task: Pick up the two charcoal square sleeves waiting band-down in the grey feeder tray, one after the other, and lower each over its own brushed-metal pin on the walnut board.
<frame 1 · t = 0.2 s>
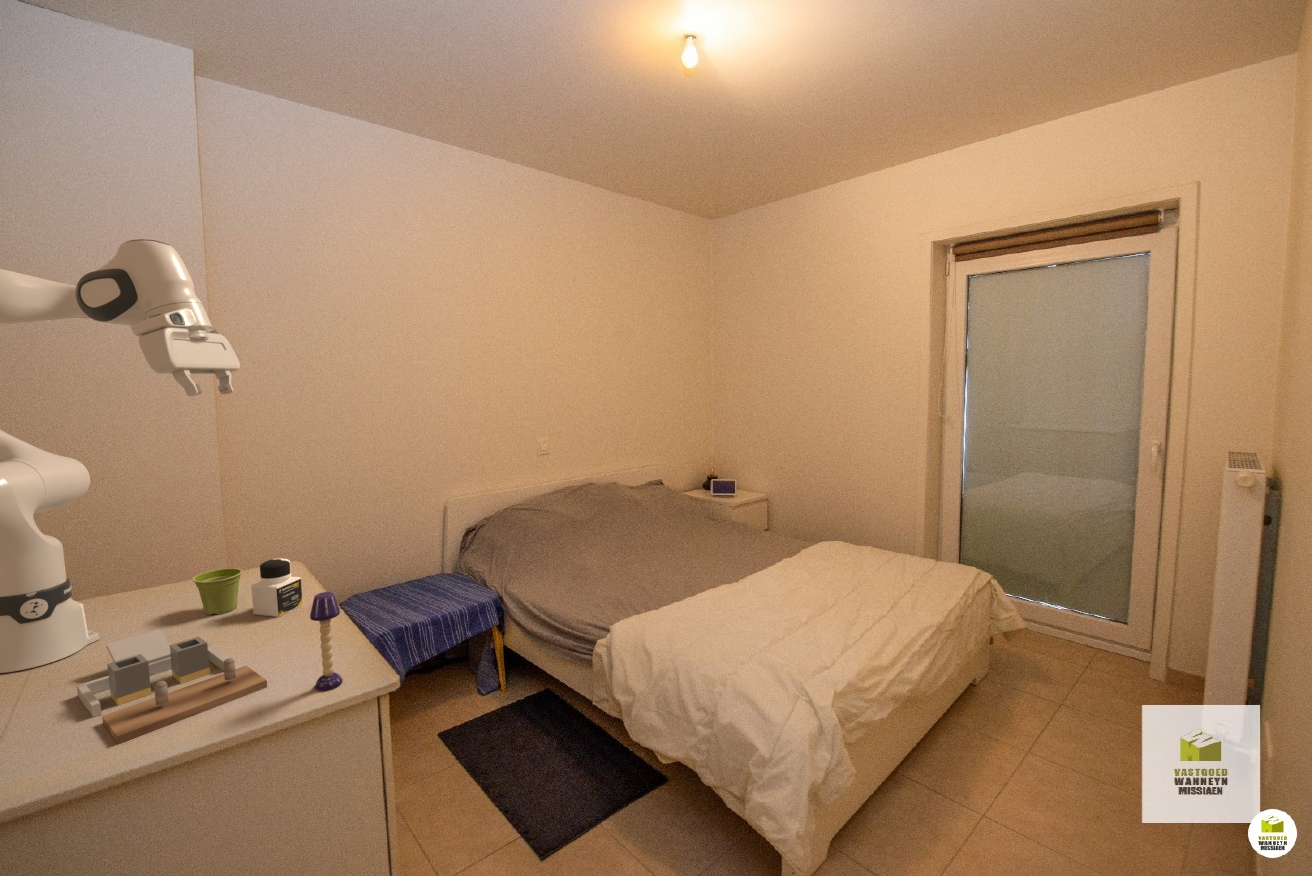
hand: (212, 394, 112), 52 cm above the dresser top, fingers open, 8 cm apart
sleeve 1: (131, 695, 101), on the dresser top
sleeve 2: (191, 674, 108), on the dresser top
feeder tray: (160, 685, 104), on the dresser top
toy lamp: (329, 684, 105), on the dresser top
medicine bottle: (278, 610, 138), on the dresser top
plant pot: (220, 610, 138), on the dresser top
pin board: (189, 703, 99), on the dresser top
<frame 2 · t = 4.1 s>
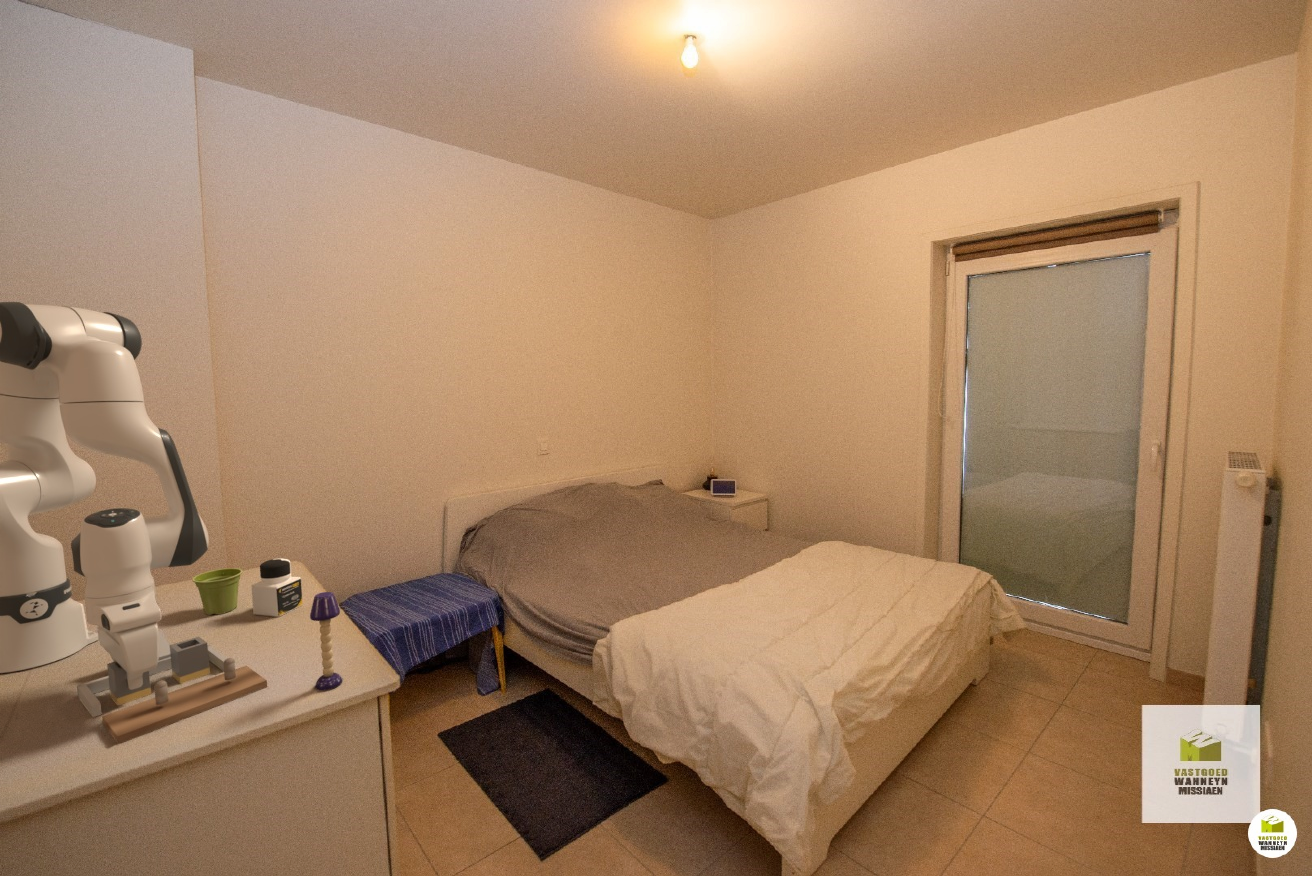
hand: (130, 681, 101), 2 cm above the dresser top, fingers closed on sleeve 1, 4 cm apart
sleeve 1: (131, 695, 101), on the dresser top, touching gripper
everything else where it was.
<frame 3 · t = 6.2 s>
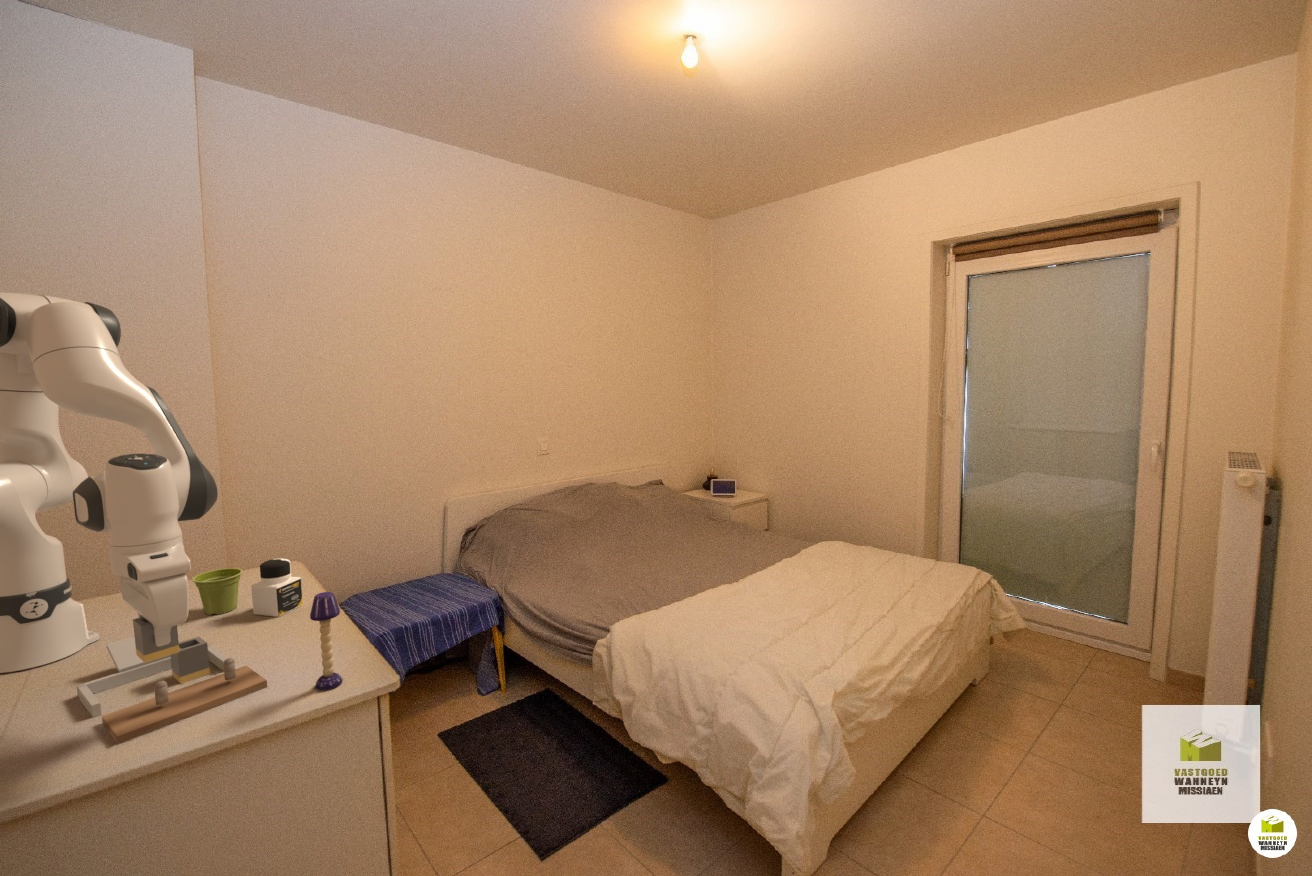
hand: (156, 639, 94), 13 cm above the dresser top, fingers closed on sleeve 1, 4 cm apart
sleeve 1: (158, 653, 95), point 10 cm above the dresser top, touching gripper
everything else where it was.
when the fingers open (4 cm above the dresser top, at t = 8.4 s): sleeve 1 stays where it is, resting on pin board.
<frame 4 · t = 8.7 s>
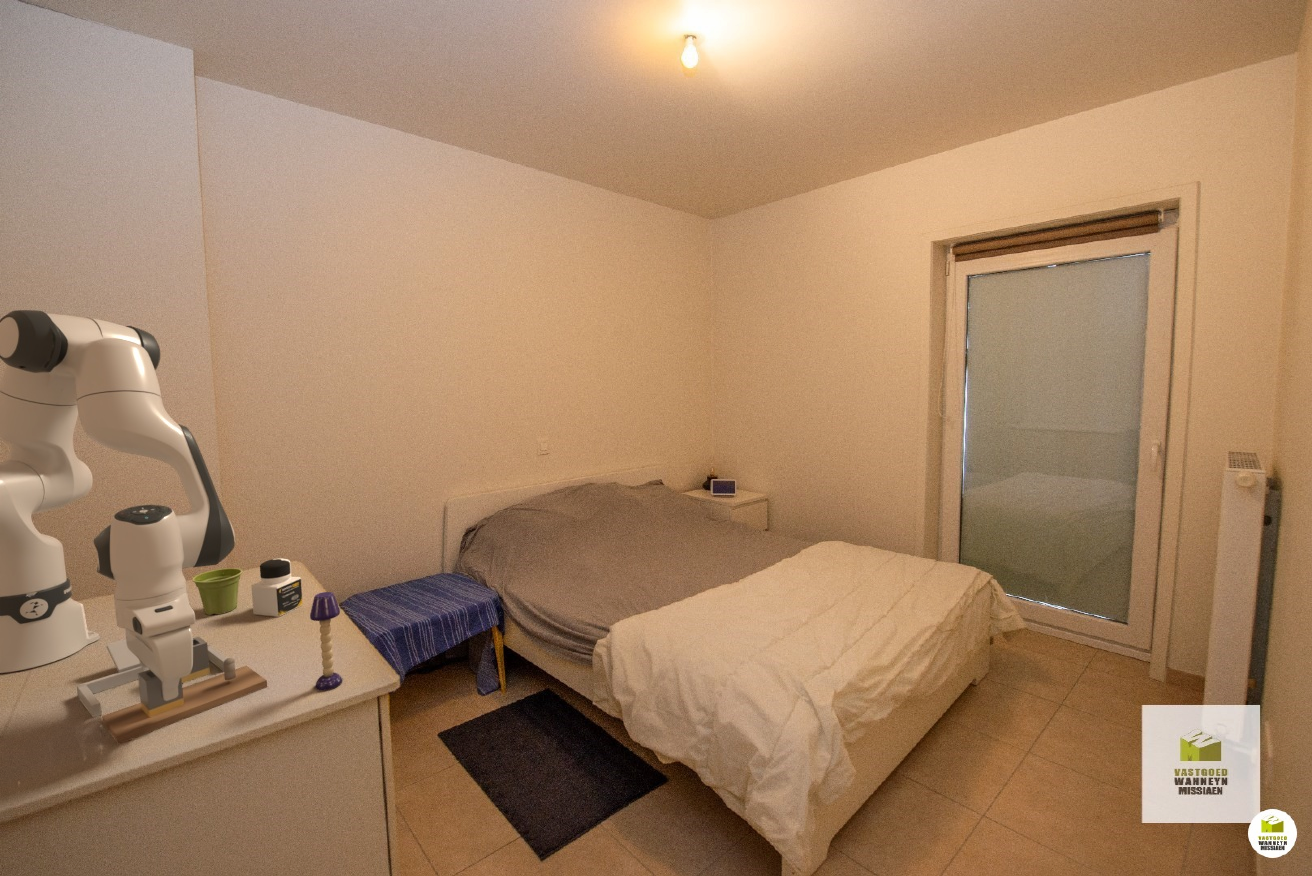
hand: (160, 688, 95), 4 cm above the dresser top, fingers open, 8 cm apart
sleeve 1: (162, 706, 96), point 1 cm above the dresser top, touching pin board
everything else where it was.
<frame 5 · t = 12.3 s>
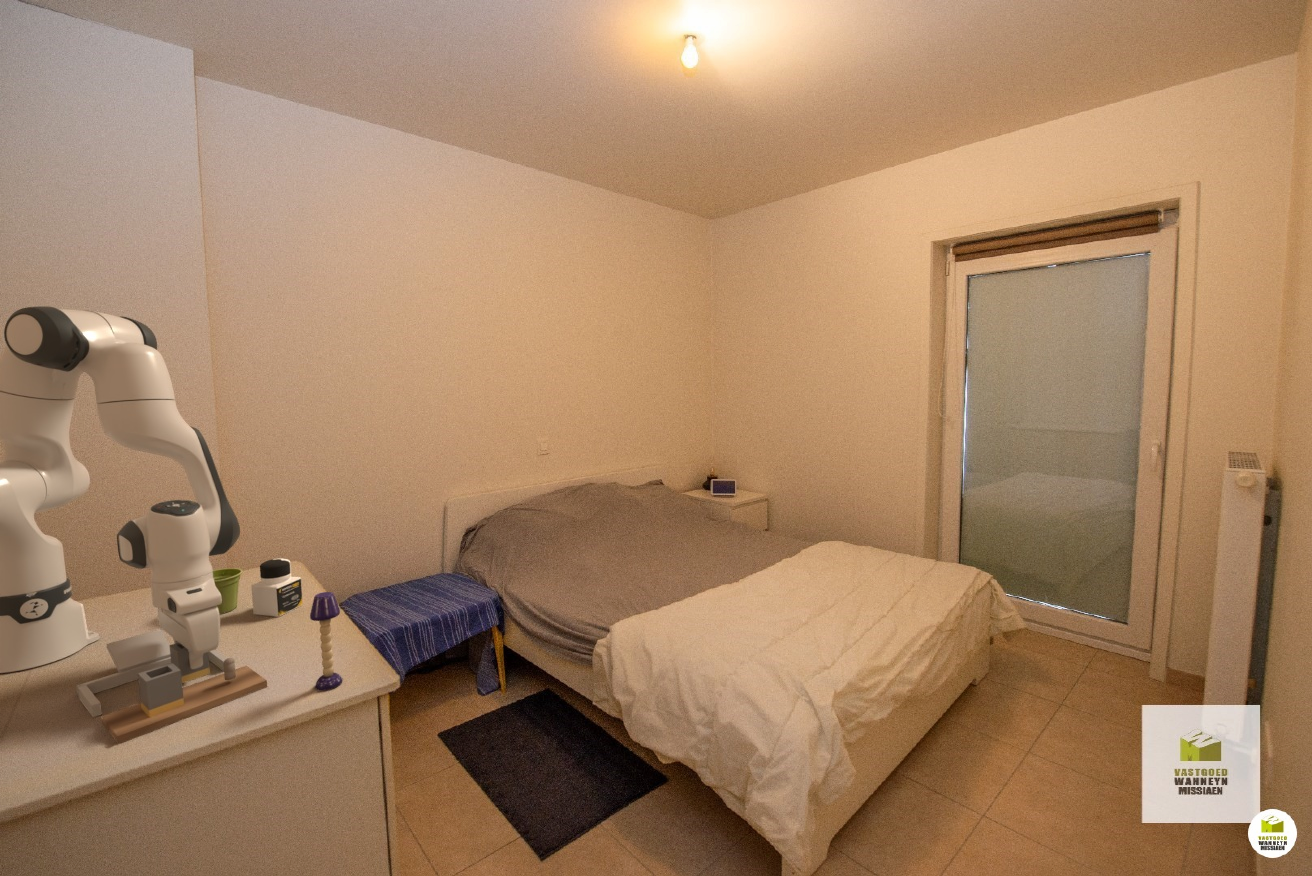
hand: (190, 662, 108), 2 cm above the dresser top, fingers closed on sleeve 2, 4 cm apart
sleeve 2: (191, 674, 108), on the dresser top, touching gripper
everything else where it was.
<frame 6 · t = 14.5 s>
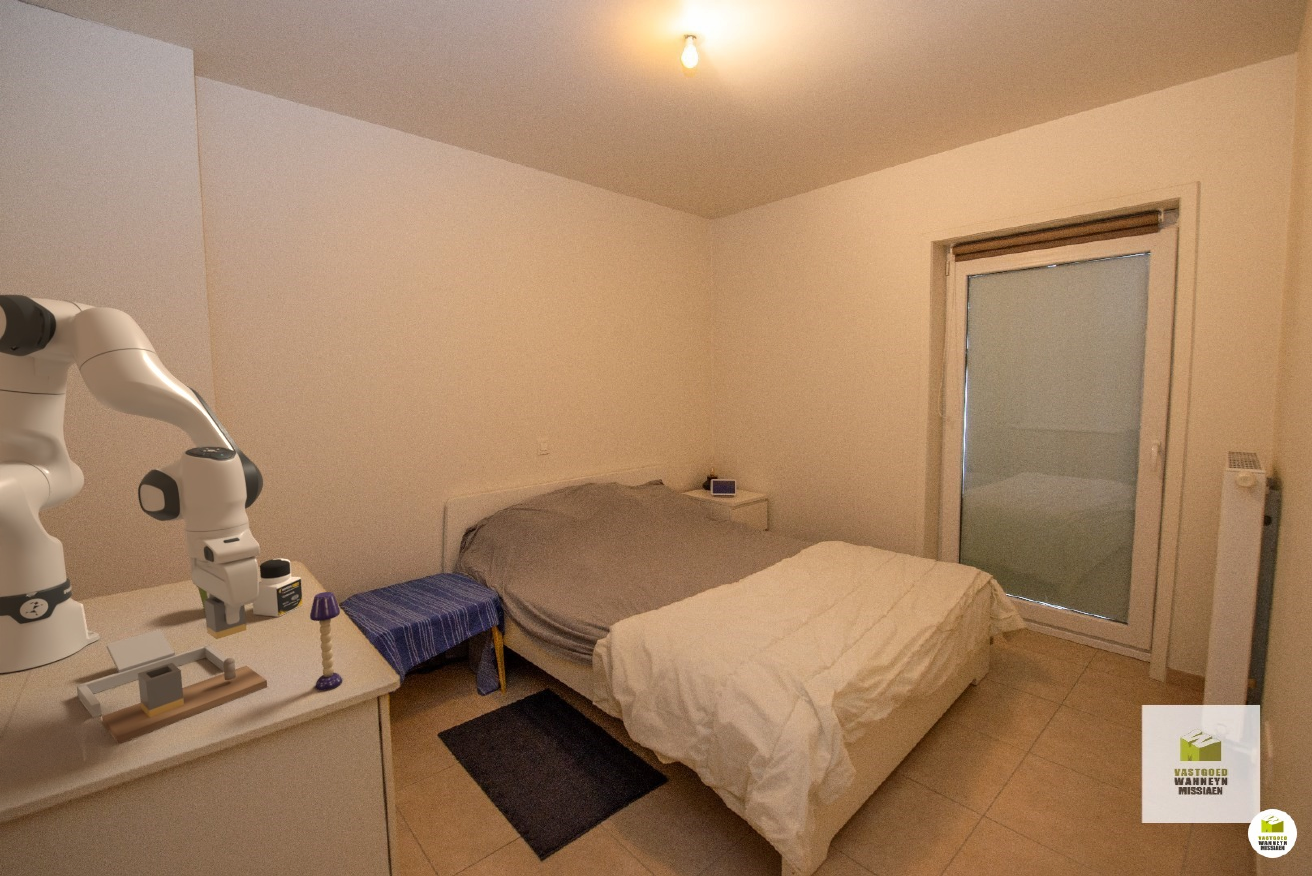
hand: (225, 618, 102), 13 cm above the dresser top, fingers closed on sleeve 2, 4 cm apart
sleeve 2: (226, 631, 102), point 11 cm above the dresser top, touching gripper
everything else where it was.
when the fingers open (4 cm above the dresser top, at t = 16.7 s): sleeve 2 stays where it is, resting on pin board.
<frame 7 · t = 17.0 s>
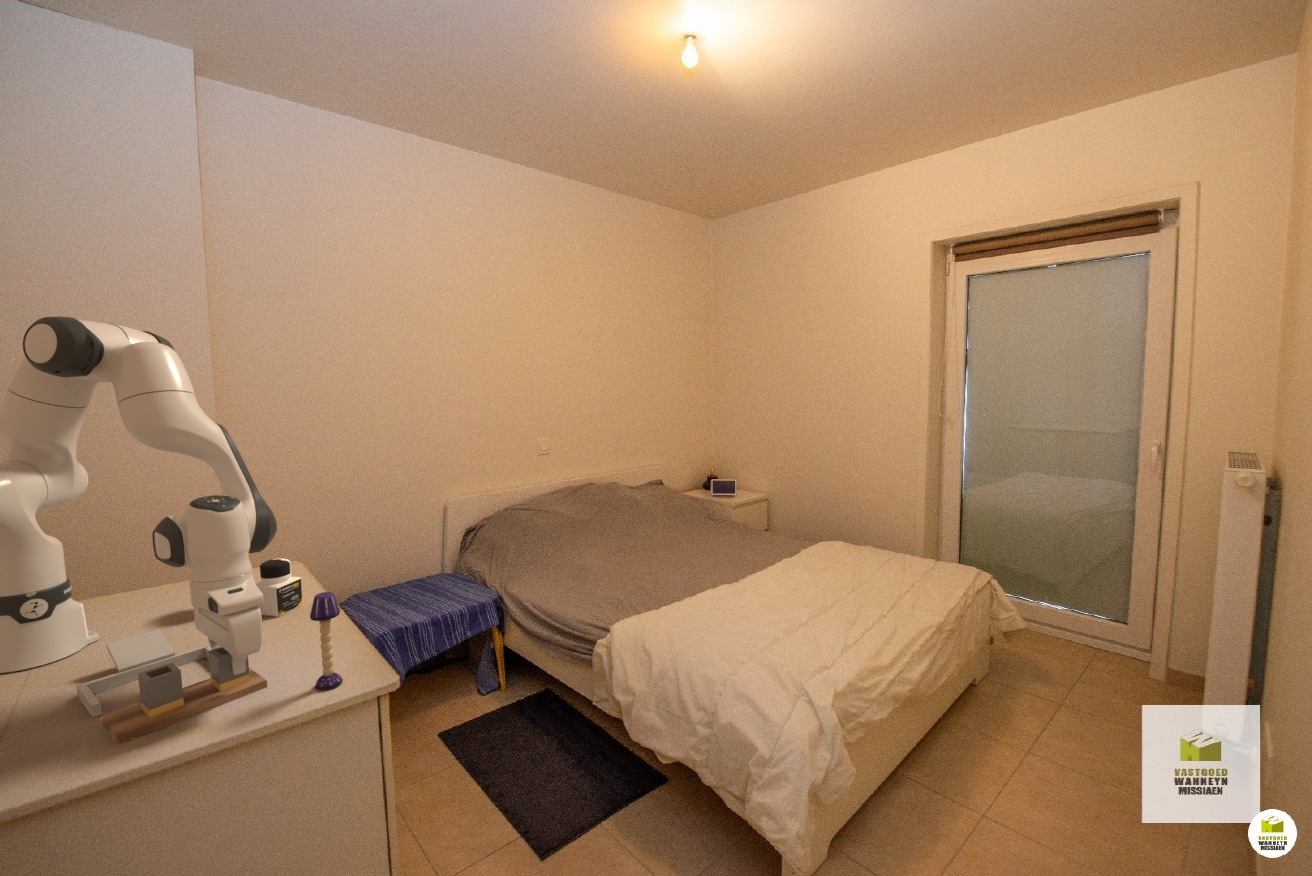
hand: (229, 665, 103), 4 cm above the dresser top, fingers open, 7 cm apart
sleeve 2: (230, 681, 103), point 1 cm above the dresser top, touching pin board
everything else where it was.
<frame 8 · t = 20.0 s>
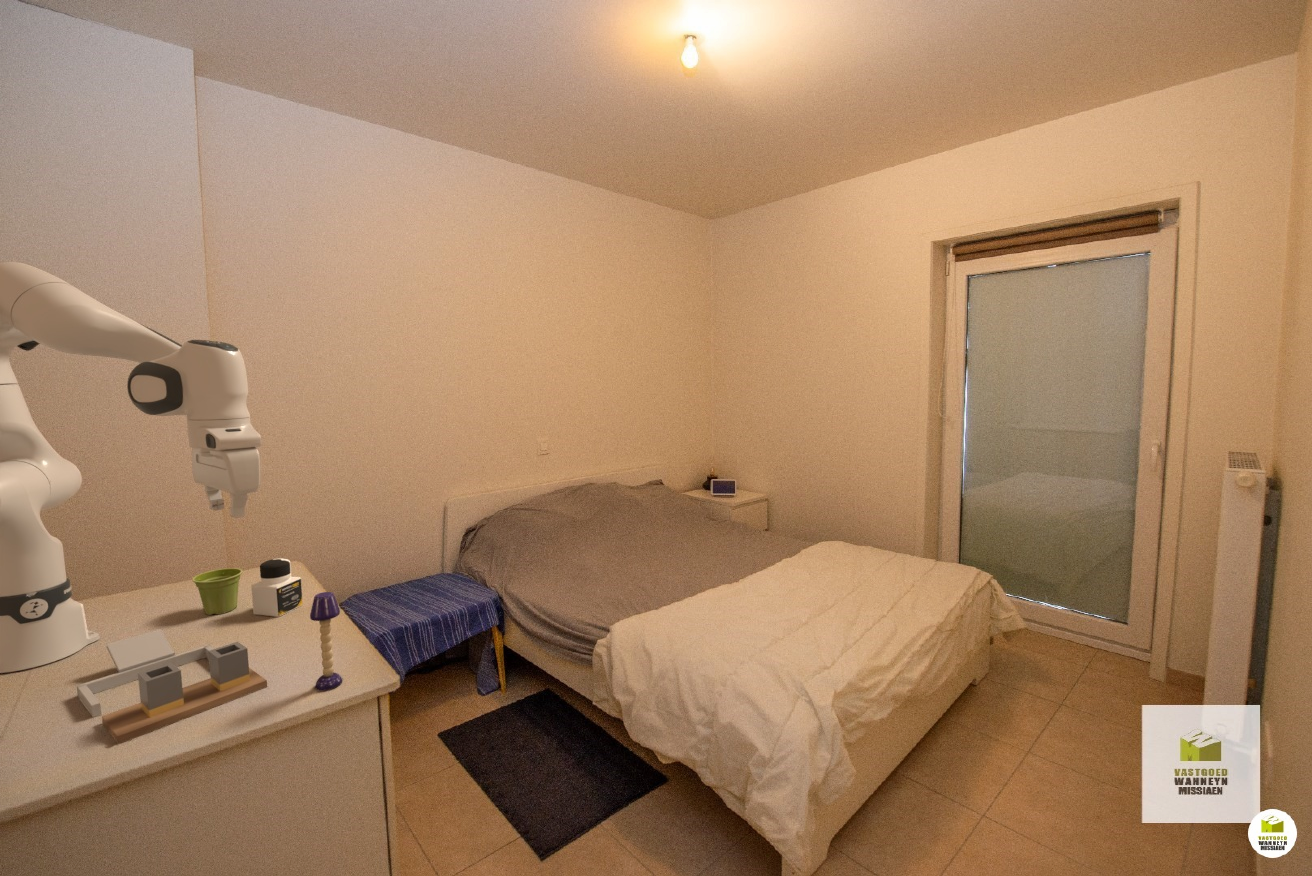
hand: (227, 513, 103), 31 cm above the dresser top, fingers open, 8 cm apart
nothing on the dresser top moved.
at the end: sleeve 1 0.0 cm from the target spot, point 1.2 cm above the dresser top; sleeve 2 0.0 cm from the target spot, point 1.2 cm above the dresser top; sleeve 2 tilted 0° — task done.
